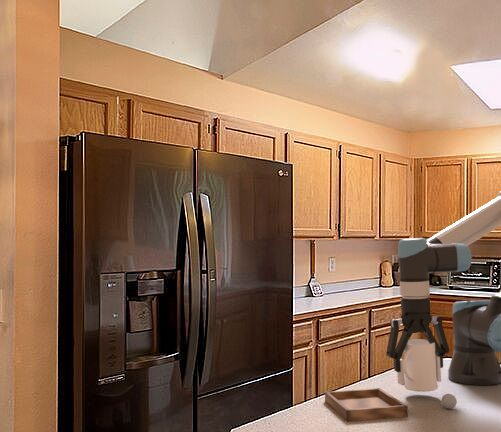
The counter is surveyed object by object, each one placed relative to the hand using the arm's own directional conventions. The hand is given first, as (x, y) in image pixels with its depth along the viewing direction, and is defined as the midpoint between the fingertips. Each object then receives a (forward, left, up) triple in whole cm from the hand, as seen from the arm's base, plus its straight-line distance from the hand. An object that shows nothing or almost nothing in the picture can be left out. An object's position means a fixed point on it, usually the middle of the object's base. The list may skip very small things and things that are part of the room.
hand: (419, 382), depth 160 cm
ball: (-2, +11, -4) cm, 12 cm away
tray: (+18, +6, -4) cm, 19 cm away
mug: (+1, 0, -2) cm, 2 cm away
